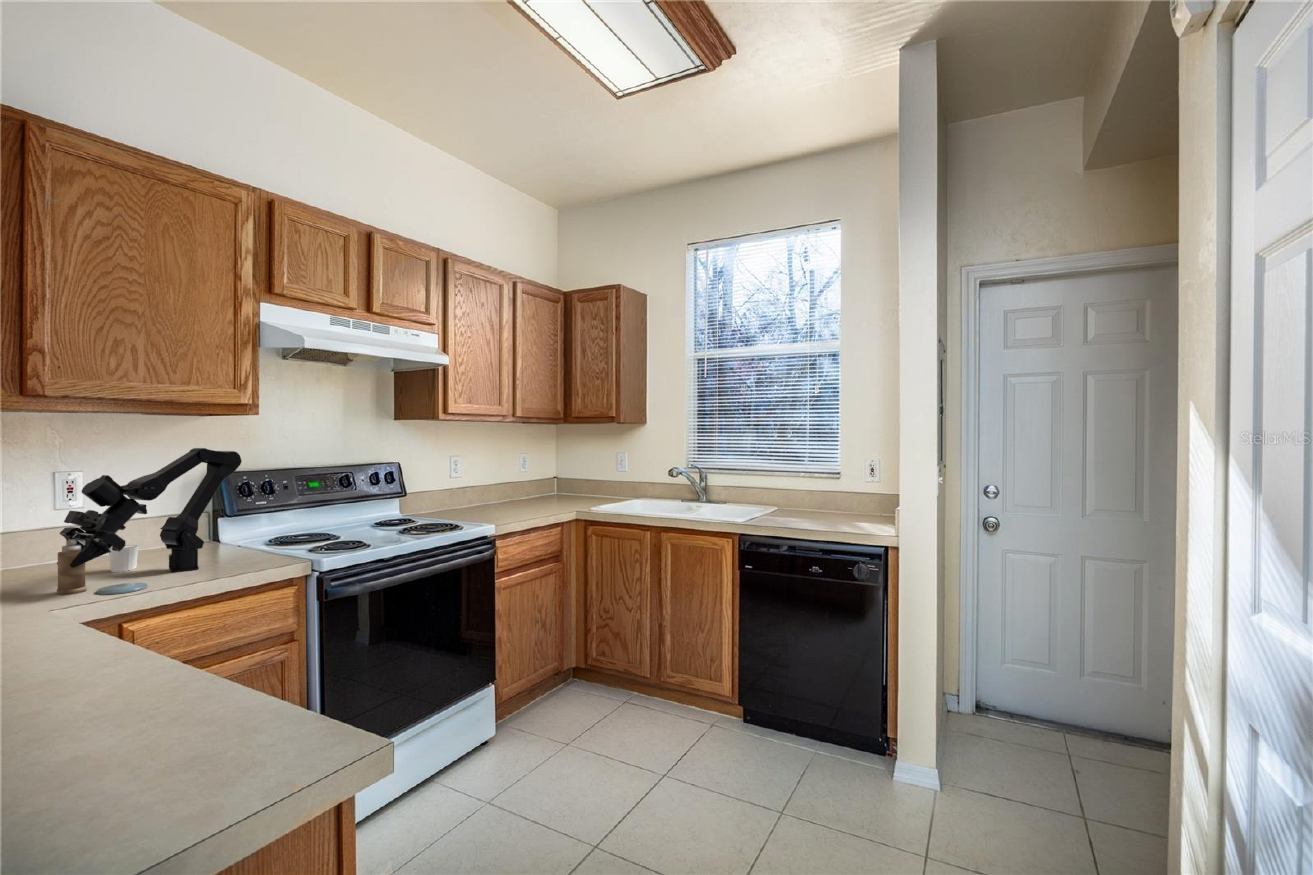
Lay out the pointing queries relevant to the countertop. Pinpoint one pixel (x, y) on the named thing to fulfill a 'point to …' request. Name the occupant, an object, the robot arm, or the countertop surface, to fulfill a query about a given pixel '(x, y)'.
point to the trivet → (121, 588)
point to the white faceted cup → (124, 558)
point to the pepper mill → (70, 570)
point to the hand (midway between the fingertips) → (64, 565)
